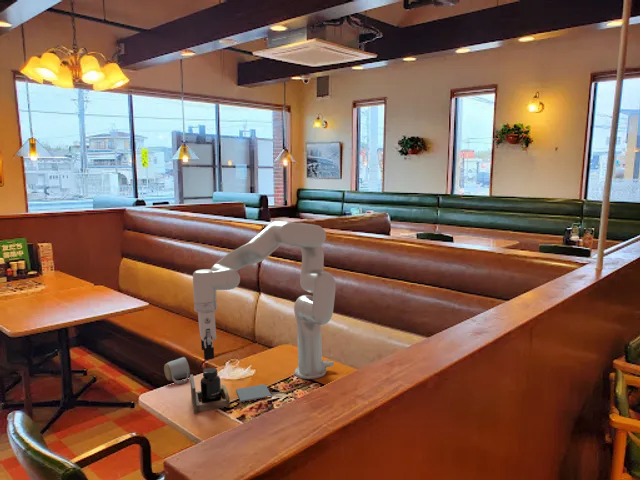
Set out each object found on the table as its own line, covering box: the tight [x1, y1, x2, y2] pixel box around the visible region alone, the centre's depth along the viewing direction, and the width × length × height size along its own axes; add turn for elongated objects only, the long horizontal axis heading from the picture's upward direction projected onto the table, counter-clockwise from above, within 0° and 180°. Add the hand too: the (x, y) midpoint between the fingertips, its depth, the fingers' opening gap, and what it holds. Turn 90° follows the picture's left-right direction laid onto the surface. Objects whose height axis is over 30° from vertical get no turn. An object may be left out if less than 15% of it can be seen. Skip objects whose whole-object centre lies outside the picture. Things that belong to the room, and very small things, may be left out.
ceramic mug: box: [163, 356, 191, 385], centre depth 186 cm, size 11×8×8 cm
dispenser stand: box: [189, 373, 231, 415], centre depth 165 cm, size 12×12×9 cm
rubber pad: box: [235, 383, 272, 403], centre depth 172 cm, size 11×10×1 cm
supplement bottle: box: [200, 367, 222, 404], centre depth 165 cm, size 7×7×12 cm
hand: (207, 354), depth 163 cm, fingers open, 9 cm apart
